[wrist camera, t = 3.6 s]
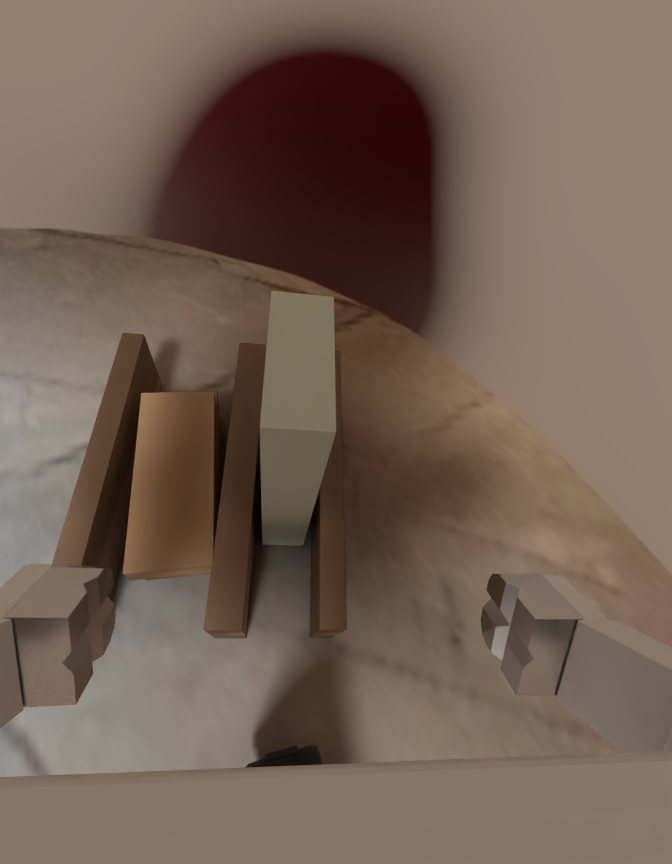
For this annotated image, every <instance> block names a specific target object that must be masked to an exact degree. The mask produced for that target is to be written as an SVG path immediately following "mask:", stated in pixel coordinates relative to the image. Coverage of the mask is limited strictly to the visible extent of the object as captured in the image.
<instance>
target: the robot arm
mask: <svg viewBox="0 0 672 864" xmlns="http://www.w3.org/2000/svg"><path fill="white" fill-rule="evenodd" d="M113 586H114V583H113V573H112V570H111V569H110V568H109V567H103V566H76V565H49V564H30V565H26V566H23V567H22V568H21V569H20V570H19V571H18V572H17V573H16V574H15V575H14V576H13V577H12V578H11V579H10V580H8V581H7V582H6V583H5V584H4V585H3V586H2V587H1V588H0V728H1V727H3V726H4V725H5V724H6V723H8V722H9V721H10V720H11V719H13V718H14V717H15V716H16V715H18V714H19V713H20V712H21V711H23V707H37V706H58V705H76V704H77V702H78V700H79V698H80V697H81V695H82V693H83V691H84V689H85V687H86V686H87V684H88V682H89V680H90V678H91V677H92V675H93V665H92V662H94V661H95V660H96V659H98V658H99V657H101V656H102V655H104V653H105V651H106V649H107V647H108V645H109V643H110V640H111V636H112V633H113V630H114V624H115V604H114V603H113V602H112V601H111V600H110V599H109V597H108V596H107V595H108V594H109V592H110V591H111V589H112V587H113ZM487 592H488V593H489V595H490V597H491V599H490V600H489V601H488V602H487V603H486V604H485V605H484V606H483V610H482V616H481V627H482V634H483V637H484V640H485V643H486V645H487V647H488V648H489V650H490V652H491V653H493V654H494V655H496V656H497V657H498V658H500V659H501V660H502V664H501V668H500V669H501V671H502V672H503V674H504V676H505V677H506V679H507V681H508V682H509V684H510V686H511V687H512V689H513V691H514V693H515V694H516V696H557V697H556V699H558V700H559V701H560V702H561V703H563V704H564V705H565V706H566V707H567V708H569V709H570V710H571V711H572V712H573V713H575V714H576V715H577V716H578V717H579V718H581V719H582V720H583V721H584V722H585V723H587V724H588V725H589V726H590V727H591V728H593V729H594V730H595V731H596V732H597V733H599V734H600V735H601V736H602V737H604V738H605V739H606V740H607V741H608V742H610V743H611V744H612V745H613V746H614V747H616V748H617V749H618V750H619V751H620V752H622V753H609V754H586V755H560V756H532V757H505V758H478V759H451V760H423V761H397V762H373V763H348V764H323V765H298V766H273V767H249V768H224V769H199V770H173V771H148V772H122V773H97V774H71V775H46V776H20V777H0V864H672V648H671V647H669V646H667V645H665V644H663V643H661V642H659V641H657V640H655V639H652V638H650V637H648V636H646V635H644V634H642V633H640V632H638V631H636V630H634V629H632V628H630V627H628V626H626V625H624V624H622V623H620V622H618V621H616V620H608V619H607V618H606V617H605V616H604V615H603V614H601V613H600V612H599V611H598V610H597V609H596V608H595V607H594V606H593V605H592V604H591V603H590V602H589V601H588V600H587V599H586V598H585V597H584V596H583V595H582V594H581V593H580V592H579V591H578V590H577V589H576V588H575V587H573V586H572V585H571V584H570V583H569V582H568V581H567V580H566V579H565V578H564V577H563V576H562V575H559V574H557V573H535V574H492V576H491V577H490V579H489V581H488V586H487Z"/></svg>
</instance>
